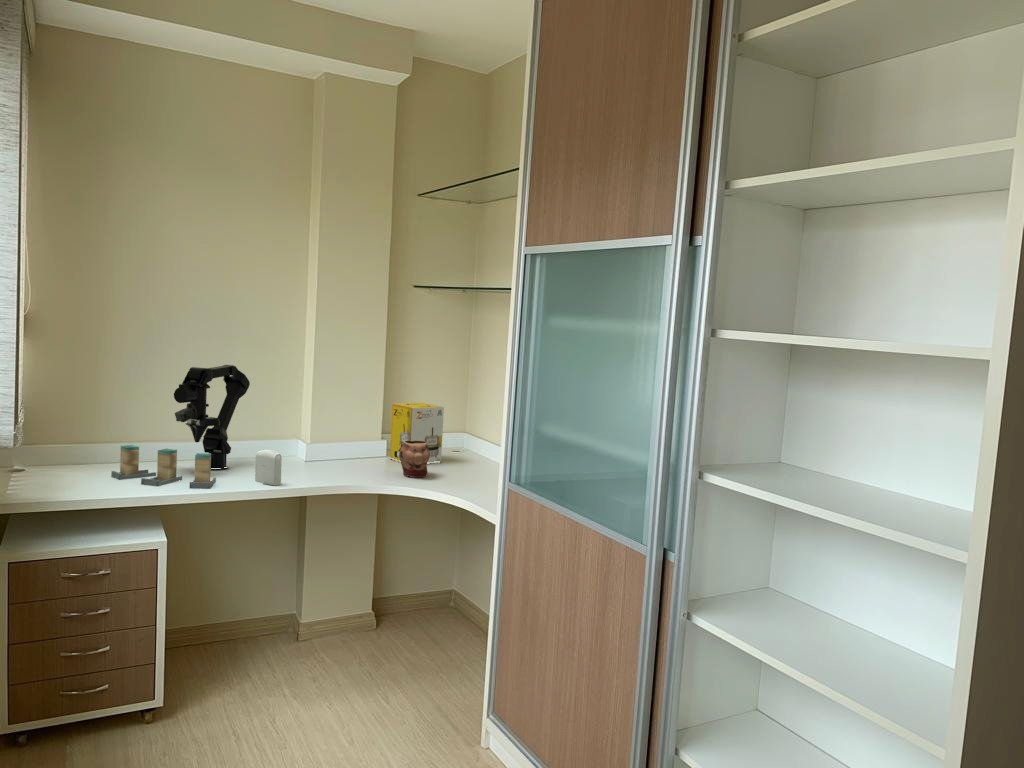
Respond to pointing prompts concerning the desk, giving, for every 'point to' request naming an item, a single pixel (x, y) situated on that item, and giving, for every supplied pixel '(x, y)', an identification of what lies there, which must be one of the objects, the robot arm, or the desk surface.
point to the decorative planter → (414, 458)
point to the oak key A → (129, 460)
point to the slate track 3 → (202, 484)
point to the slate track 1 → (140, 474)
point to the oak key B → (166, 464)
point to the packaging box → (417, 427)
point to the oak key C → (202, 467)
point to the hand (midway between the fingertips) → (196, 442)
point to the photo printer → (268, 467)
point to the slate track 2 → (158, 481)
